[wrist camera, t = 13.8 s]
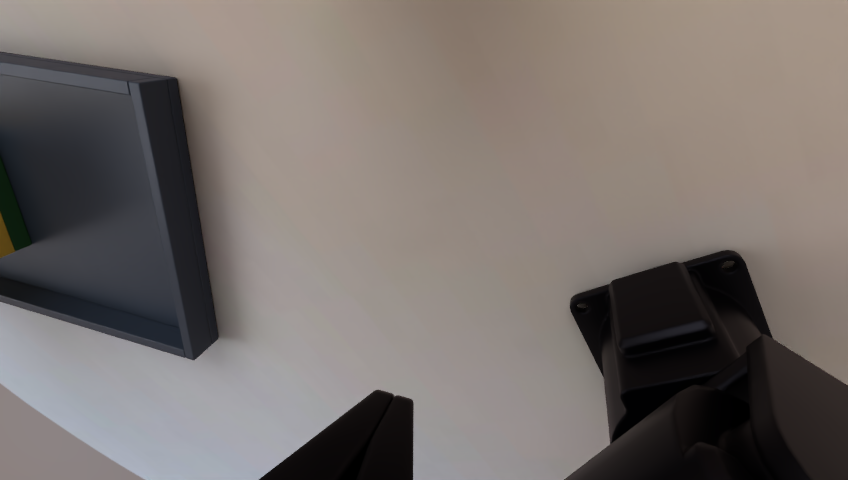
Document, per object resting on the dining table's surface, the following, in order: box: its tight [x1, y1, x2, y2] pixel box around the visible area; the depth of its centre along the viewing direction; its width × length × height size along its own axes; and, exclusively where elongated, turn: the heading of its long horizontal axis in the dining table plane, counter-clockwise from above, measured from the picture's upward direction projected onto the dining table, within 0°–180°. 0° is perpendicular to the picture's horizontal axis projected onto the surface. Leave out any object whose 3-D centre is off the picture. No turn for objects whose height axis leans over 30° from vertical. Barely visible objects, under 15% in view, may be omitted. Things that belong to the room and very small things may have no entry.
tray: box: [0, 52, 218, 360], centre depth 26 cm, size 25×15×2 cm, turn 85°
